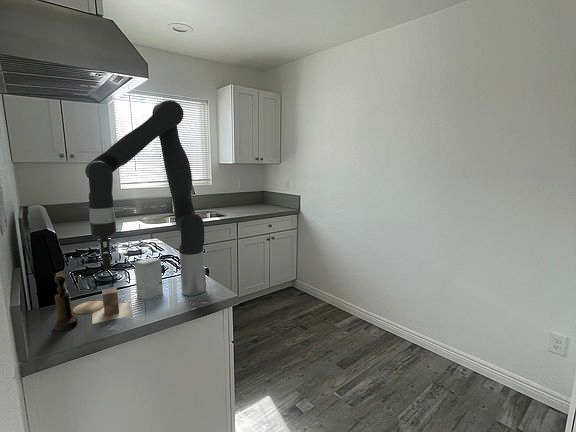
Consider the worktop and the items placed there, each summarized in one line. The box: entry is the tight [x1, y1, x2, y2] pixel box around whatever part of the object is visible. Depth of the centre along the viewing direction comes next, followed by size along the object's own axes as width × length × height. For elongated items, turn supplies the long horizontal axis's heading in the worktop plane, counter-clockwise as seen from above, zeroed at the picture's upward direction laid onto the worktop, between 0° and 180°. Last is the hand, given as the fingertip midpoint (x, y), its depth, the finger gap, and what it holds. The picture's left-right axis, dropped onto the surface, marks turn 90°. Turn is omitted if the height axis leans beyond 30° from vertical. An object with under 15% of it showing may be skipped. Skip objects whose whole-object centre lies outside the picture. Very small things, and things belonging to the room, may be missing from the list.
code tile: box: [91, 301, 133, 325], centre depth 115 cm, size 12×12×1 cm
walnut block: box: [101, 287, 119, 316], centre depth 115 cm, size 4×4×8 cm
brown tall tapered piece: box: [53, 273, 79, 332], centre depth 104 cm, size 7×6×18 cm
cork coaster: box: [72, 300, 104, 315], centre depth 119 cm, size 10×10×1 cm
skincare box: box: [133, 257, 164, 301], centre depth 129 cm, size 8×6×15 cm
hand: (106, 266), depth 112 cm, fingers open, 8 cm apart
